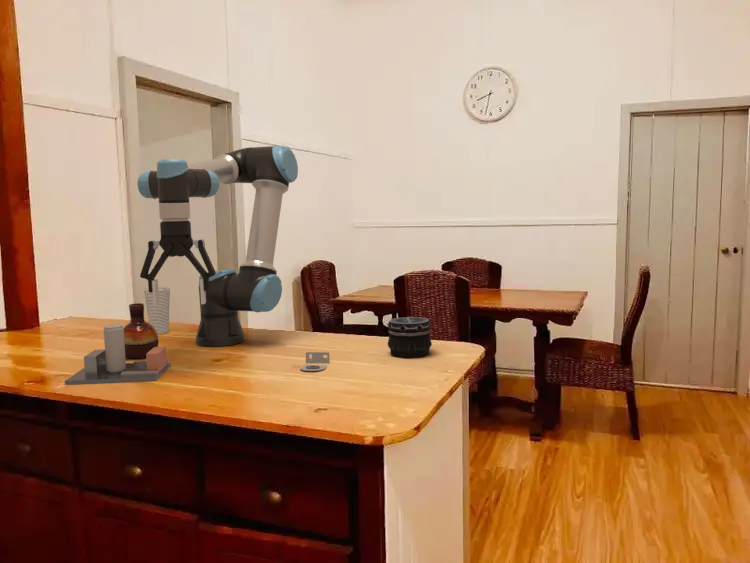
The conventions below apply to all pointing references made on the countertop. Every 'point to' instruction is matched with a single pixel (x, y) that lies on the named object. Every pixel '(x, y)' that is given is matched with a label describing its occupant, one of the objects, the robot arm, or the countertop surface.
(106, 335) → the beverage can
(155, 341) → the vase
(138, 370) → the grey vise base
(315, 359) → the bracket
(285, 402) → the countertop surface
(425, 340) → the container
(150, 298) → the cup
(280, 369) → the countertop surface
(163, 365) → the block
